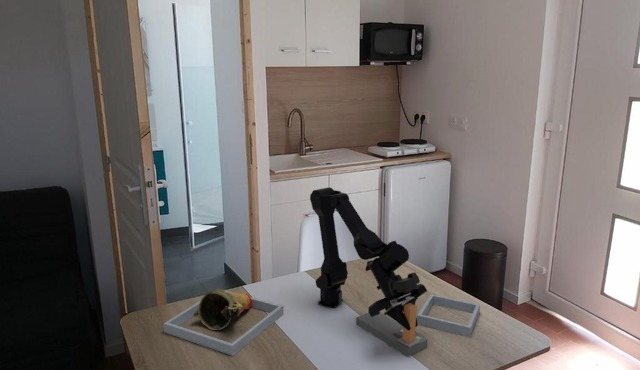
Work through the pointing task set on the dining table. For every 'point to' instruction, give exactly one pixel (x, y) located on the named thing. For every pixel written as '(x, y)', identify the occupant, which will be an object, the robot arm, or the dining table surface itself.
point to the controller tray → (448, 325)
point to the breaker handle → (409, 335)
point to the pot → (221, 307)
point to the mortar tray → (217, 344)
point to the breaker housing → (389, 332)
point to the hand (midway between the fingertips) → (413, 328)
